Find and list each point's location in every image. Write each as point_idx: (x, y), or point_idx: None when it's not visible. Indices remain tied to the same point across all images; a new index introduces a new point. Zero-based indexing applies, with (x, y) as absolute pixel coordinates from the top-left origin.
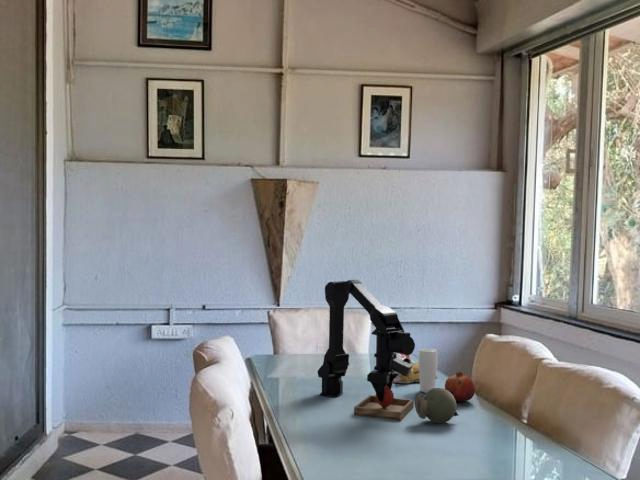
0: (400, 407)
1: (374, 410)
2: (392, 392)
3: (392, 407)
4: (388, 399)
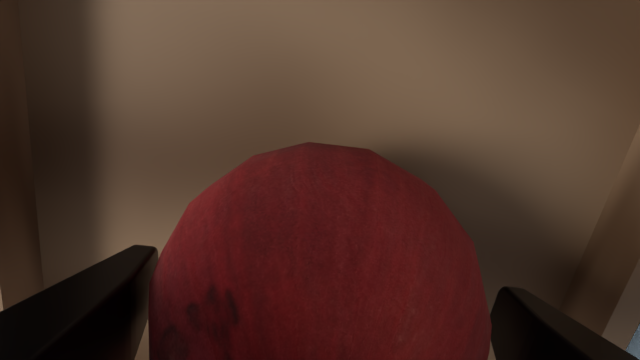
0: (191, 11)
1: (637, 305)
2: (320, 224)
3: (232, 123)
4: (456, 224)
